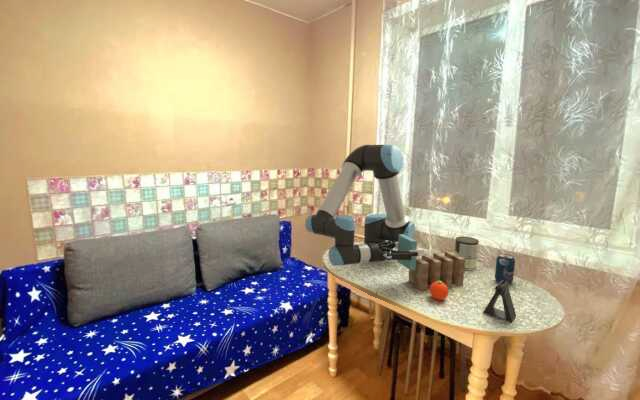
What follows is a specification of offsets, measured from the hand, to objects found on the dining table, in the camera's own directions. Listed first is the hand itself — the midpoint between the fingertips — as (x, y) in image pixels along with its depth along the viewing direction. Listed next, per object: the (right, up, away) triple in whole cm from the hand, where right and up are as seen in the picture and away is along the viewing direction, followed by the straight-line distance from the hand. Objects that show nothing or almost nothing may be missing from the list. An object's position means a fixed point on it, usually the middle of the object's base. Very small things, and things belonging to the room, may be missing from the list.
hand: (415, 248), depth 127 cm
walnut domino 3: (+13, -16, +7) cm, 22 cm away
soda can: (+41, -16, +7) cm, 45 cm away
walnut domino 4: (+19, -16, +8) cm, 26 cm away
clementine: (+7, -19, -7) cm, 21 cm away
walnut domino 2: (+8, -16, +5) cm, 19 cm away
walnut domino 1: (+2, -17, +3) cm, 17 cm away
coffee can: (+32, -13, +24) cm, 42 cm away
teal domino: (-4, -7, 0) cm, 8 cm away
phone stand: (+24, -21, -19) cm, 37 cm away
